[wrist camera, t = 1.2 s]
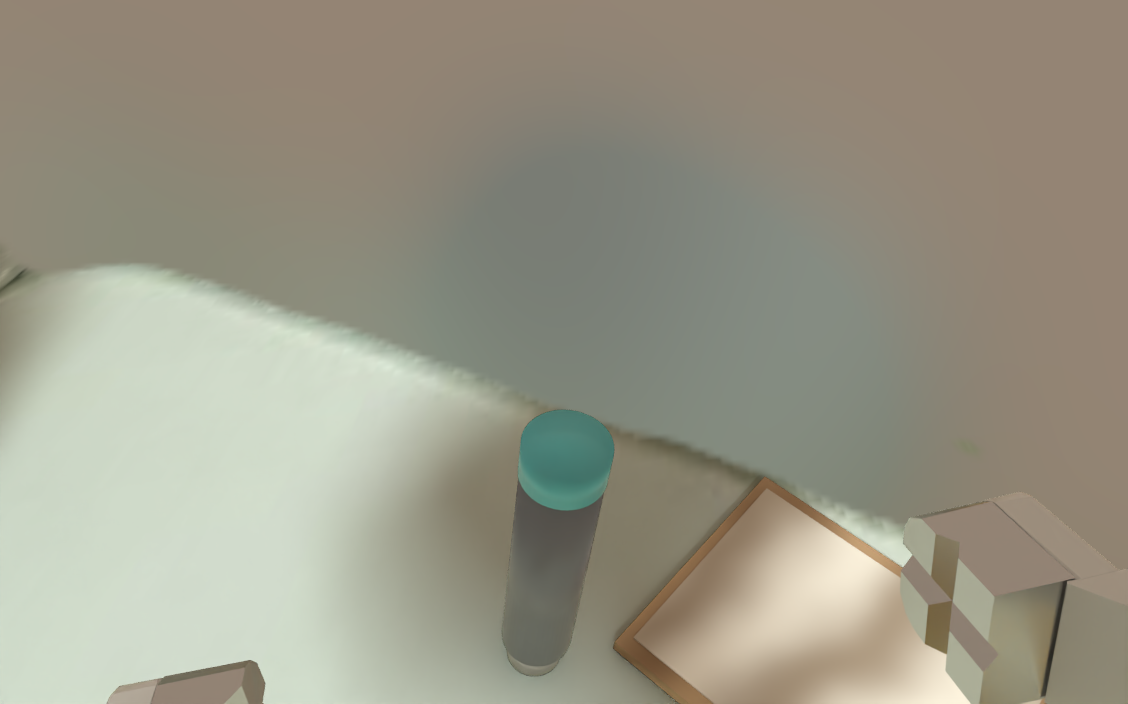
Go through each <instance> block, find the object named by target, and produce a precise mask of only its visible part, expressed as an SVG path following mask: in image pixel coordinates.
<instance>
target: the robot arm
mask: <svg viewBox="0 0 1128 704" xmlns="http://www.w3.org/2000/svg"><path fill="white" fill-rule="evenodd" d="M903 544H904V545H905V546H906V548H907V549H908V550H909V551H910V552H911V553H912V557H911V558H910V559H909V561H908V562H907V563H906V565H905V566H904V567H903V569H902V570H901V579H900V593H901V597H902V601H903V605H904V609H905V613H906V615H907V617H908V619H909V621H910V623H911V625H912V627H913V629H914V630H915V631H916V633H917V634H918V636H919V637H920V638H921V640H922V641H923V642H924V644H926V645H928V646H930V647H932V648H934V649H936V650H938V651H940V652H942V653H944V654H946V655H947V656H946V669H945V671H946V672H947V674H948V675H949V676H950V678H951V679H952V680H953V681H954V683H955V684H956V685H957V687H958V688H959V689H960V690H961V692H962V693H963V694H964V696H965V697H966V698H967V699H968V701H969V702H970V703H971V704H1022V703H1026V702H1031V701H1036V700H1040V699H1045V703H1047V704H1128V568H1126V569H1121V570H1118V569H1117V568H1116V567H1115V566H1114V565H1113V564H1111V563H1110V562H1109V561H1108V560H1107V559H1105V558H1104V557H1103V556H1102V555H1100V553H1098V552H1097V551H1096V550H1095V549H1094V548H1092V547H1091V546H1090V545H1089V544H1088V543H1087V542H1085V541H1084V540H1083V539H1082V538H1081V537H1079V536H1078V535H1077V534H1076V533H1075V532H1074V531H1073V530H1071V529H1070V528H1069V527H1068V526H1067V525H1065V524H1064V523H1063V522H1062V521H1061V520H1060V519H1058V518H1057V517H1056V516H1055V515H1054V514H1052V513H1051V512H1050V511H1049V510H1048V509H1047V508H1045V507H1044V506H1043V505H1042V504H1041V503H1039V502H1038V501H1037V500H1036V499H1035V498H1034V497H1032V496H1031V495H1028V494H1025V493H1023V492H1017V493H1012V494H1008V495H1004V496H1000V497H996V498H991V499H987V500H984V501H982V502H976V503H972V504H967V505H963V506H958V507H954V508H950V509H945V510H941V511H936V512H932V513H927V514H923V515H919V516H915V517H910V518H909V520H908V521H907V523H906V525H905V527H904V537H903ZM264 689H265V681H264V679H263V676H262V674H261V671H260V669H259V667H258V664H257V663H256V662H254V661H251V660H248V661H243V662H238V663H232V664H227V665H222V666H217V667H212V668H206V669H201V670H196V671H191V672H186V673H180V674H175V675H170V676H165V677H164V678H160V679H154V680H149V681H144V682H138V683H133V684H128V685H122V686H119V687H118V688H117V689H116V690H115V691H114V692H113V693H112V694H111V696H110V697H109V699H108V701H107V704H263V703H262V702H263V695H264Z"/></svg>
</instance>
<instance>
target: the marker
mask: <svg viewBox="0 0 1128 704" xmlns="http://www.w3.org/2000/svg"><path fill="white" fill-rule="evenodd" d="M613 456H614V443H613V439H612V437H611V435H610V433H609V431H608V430H607V429H606V427H605V426H604V425H603V424H602V423H600V422H599V421H598V420H596V419H595V418H593V417H591V416H589V415H587V414H584V413H581V412H578V411H572V410H554V411H550V412H546V413H543V414H541V415H539V416H537V417H536V418H534V419H533V420H532V421H530V422H529V423H528V425H527V426H526V427H525V429H524V431H523V433H522V437H521V444H520V453H519V463H518V486H517V495H516V504H515V513H514V522H513V532H512V541H511V550H510V559H509V569H508V578H507V587H506V596H505V605H504V615H503V624H502V640H503V643H504V646H505V648H506V650H507V656H508V659H509V661H510V663H511V665H512V666H513V667H514V668H515V669H516V670H517V671H519V672H520V673H522V674H524V675H528V676H541V675H544V674H547V673H549V672H550V671H552V670H553V669H554V668H555V667H556V665H557V664H558V662H559V660H560V658H562V657H563V656H564V654H565V653H566V652H567V650H568V648H569V646H570V643H571V638H572V634H573V629H574V625H575V620H576V616H577V611H578V607H579V602H580V598H581V593H582V589H583V584H584V580H585V575H586V571H587V566H588V562H589V557H590V553H591V548H592V544H593V539H594V535H595V530H596V526H597V521H598V517H599V512H600V508H601V503H602V499H603V494H604V491H605V489H606V487H607V483H608V479H609V474H610V470H611V465H612V461H613Z"/></svg>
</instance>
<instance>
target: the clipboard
mask: <svg viewBox="0 0 1128 704" xmlns="http://www.w3.org/2000/svg"><path fill="white" fill-rule="evenodd" d="M902 569H903V568H902V567H900V566H899V565H897V564H896V563H894V562H893V561H891V560H890V559H888V558H887V557H885V556H884V555H882V554H881V553H879V552H878V551H876V550H875V549H873V548H872V547H870V546H869V545H867V544H866V543H864V542H863V541H861V540H860V539H858V538H857V537H855V536H854V535H852V534H851V533H849V532H848V531H846V530H845V529H843V528H842V527H840V526H839V525H837V524H836V523H834V522H833V521H831V520H830V519H828V518H827V517H825V516H824V515H822V514H821V513H819V512H818V511H816V510H815V509H813V508H812V507H810V506H809V505H807V504H806V503H804V502H803V501H801V500H800V499H798V498H797V497H795V496H794V495H792V494H791V493H789V492H788V491H786V490H785V489H783V488H782V487H780V486H779V485H777V484H775V483H774V482H772V481H771V480H769V479H768V478H766V477H764V478H763V479H762V480H761V481H760V482H759V483H758V485H757V486H756V487H755V488H754V489H753V490H752V491H751V492H750V493H749V494H748V496H747V497H746V498H745V499H744V500H743V501H742V502H741V503H740V504H739V506H738V507H737V508H736V509H735V510H734V511H733V512H732V513H731V514H730V515H729V517H728V518H727V519H726V520H725V521H724V522H723V523H722V524H721V525H720V526H719V528H718V529H717V530H716V531H715V532H714V533H713V534H712V535H711V536H710V537H709V539H708V540H707V541H706V542H705V543H704V544H703V545H702V546H701V547H700V548H699V550H698V551H697V552H696V553H695V554H694V555H693V556H692V557H691V558H690V559H689V561H688V562H687V563H686V564H685V565H684V566H683V567H682V568H681V569H680V570H679V572H678V573H677V574H676V575H675V576H674V577H673V578H672V579H671V580H670V582H669V583H668V584H667V585H666V586H665V587H664V588H663V589H662V590H661V591H660V593H659V594H658V595H657V596H656V597H655V598H654V599H653V600H652V601H651V602H650V604H649V605H648V606H647V607H646V608H645V609H644V610H643V611H642V612H641V613H640V615H639V616H638V617H637V618H636V619H635V620H634V621H633V622H632V623H631V624H630V626H629V627H628V628H627V629H626V630H625V631H624V632H623V633H622V634H621V635H620V637H619V638H618V639H617V640H616V641H615V643H614V646H613V649H614V650H616V651H617V652H618V653H619V654H620V655H622V656H623V657H624V658H625V659H626V660H628V661H629V662H630V663H631V664H632V665H634V666H635V667H636V668H637V669H638V670H640V671H641V672H642V673H643V674H644V675H646V676H647V677H648V678H649V679H650V680H652V681H653V682H654V683H655V684H656V685H658V686H659V687H660V688H661V689H662V690H664V691H665V692H666V693H667V694H668V695H670V696H671V697H672V698H673V699H674V700H676V701H677V702H678V703H679V704H971V703H970V702H969V701H968V699H967V698H966V697H965V696H964V694H963V693H962V692H961V690H960V689H959V688H958V687H957V685H956V684H955V683H954V681H953V680H952V679H951V678H950V676H949V675H948V674H947V672H946V671H945V669H946V656H947V655H946V654H944V653H942V652H940V651H938V650H936V649H934V648H932V647H930V646H928V645H926V644H924V642H923V641H922V640H921V638H920V637H919V636H918V634H917V633H916V631H915V630H914V629H913V627H912V625H911V623H910V621H909V619H908V617H907V615H906V613H905V609H904V605H903V601H902V597H901V593H900V579H901V570H902ZM1022 704H1047V703H1045V699H1040V700H1036V701H1031V702H1026V703H1022Z"/></svg>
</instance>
